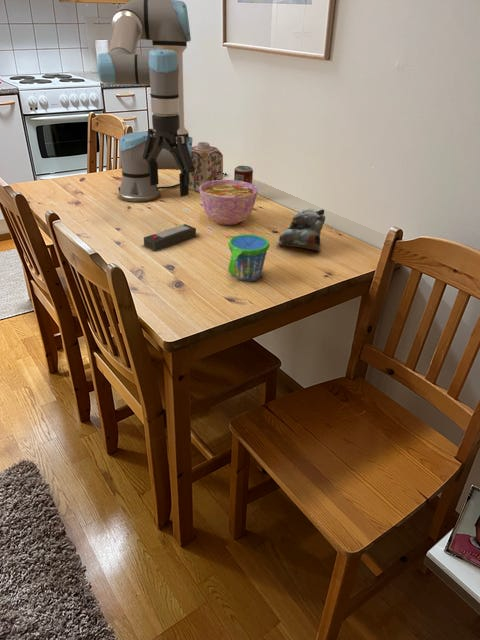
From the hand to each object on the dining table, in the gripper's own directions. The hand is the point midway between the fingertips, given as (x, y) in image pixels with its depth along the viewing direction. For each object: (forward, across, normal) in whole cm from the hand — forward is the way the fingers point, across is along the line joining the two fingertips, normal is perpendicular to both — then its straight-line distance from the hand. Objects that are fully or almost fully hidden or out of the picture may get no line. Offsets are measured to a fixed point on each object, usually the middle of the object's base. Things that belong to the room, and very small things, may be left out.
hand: (168, 190), depth 145 cm
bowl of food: (+16, -1, -26) cm, 30 cm away
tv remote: (+16, -1, +1) cm, 16 cm away
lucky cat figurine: (+16, -32, -26) cm, 44 cm away
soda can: (+17, +12, -48) cm, 52 cm away
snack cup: (+16, -34, +2) cm, 37 cm away
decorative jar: (+17, +32, -46) cm, 58 cm away
